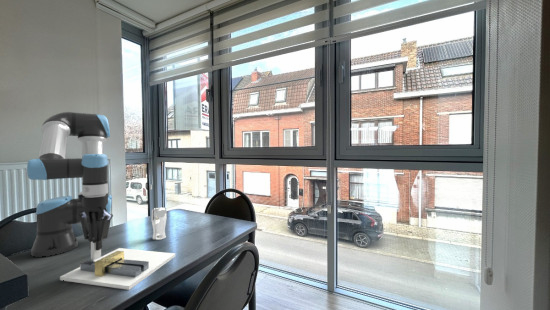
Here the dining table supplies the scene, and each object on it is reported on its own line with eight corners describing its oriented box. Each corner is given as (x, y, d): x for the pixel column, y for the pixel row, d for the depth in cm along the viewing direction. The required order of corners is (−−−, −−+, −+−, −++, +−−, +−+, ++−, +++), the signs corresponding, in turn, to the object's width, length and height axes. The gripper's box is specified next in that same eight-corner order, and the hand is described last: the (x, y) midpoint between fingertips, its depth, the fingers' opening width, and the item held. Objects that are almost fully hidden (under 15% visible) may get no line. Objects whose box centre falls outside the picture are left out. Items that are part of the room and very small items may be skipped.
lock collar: (95, 275, 80) (94, 261, 80) (117, 262, 89) (117, 250, 89) (102, 276, 80) (102, 262, 80) (124, 263, 89) (124, 251, 88)
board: (60, 280, 80) (59, 276, 79) (119, 250, 103) (119, 248, 103) (129, 289, 74) (129, 286, 74) (175, 256, 98) (175, 253, 98)
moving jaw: (106, 267, 85) (106, 261, 85) (112, 264, 88) (112, 258, 88) (143, 271, 83) (143, 264, 83) (148, 267, 85) (148, 261, 85)
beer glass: (163, 234, 123) (162, 206, 123) (169, 237, 119) (169, 208, 119) (149, 238, 118) (149, 209, 118) (155, 241, 113) (155, 211, 113)
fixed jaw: (78, 270, 84) (78, 263, 84) (85, 266, 86) (85, 260, 86) (135, 277, 79) (135, 270, 79) (141, 273, 82) (141, 266, 82)
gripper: (70, 196, 83) (71, 261, 83) (100, 198, 80) (101, 264, 81) (90, 192, 90) (91, 252, 91) (119, 194, 88) (119, 255, 88)
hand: (96, 258), depth 86 cm, fingers closed
